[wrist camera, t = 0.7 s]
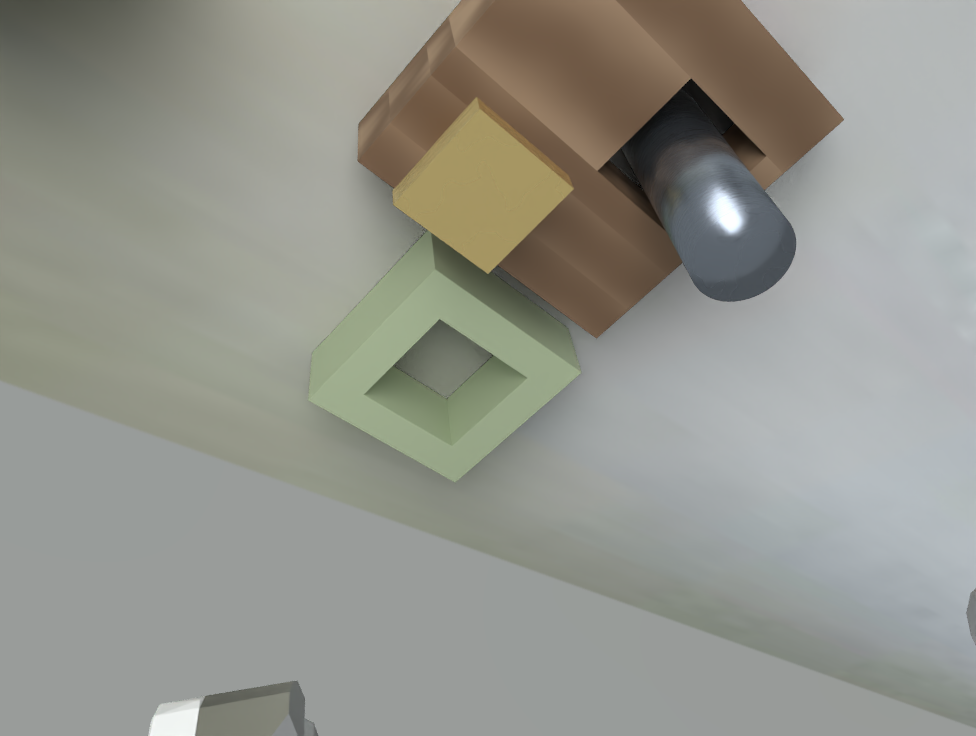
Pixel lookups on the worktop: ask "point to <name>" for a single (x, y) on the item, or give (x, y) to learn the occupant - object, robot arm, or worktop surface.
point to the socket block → (597, 121)
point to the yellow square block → (482, 187)
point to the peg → (710, 203)
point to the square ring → (411, 405)
